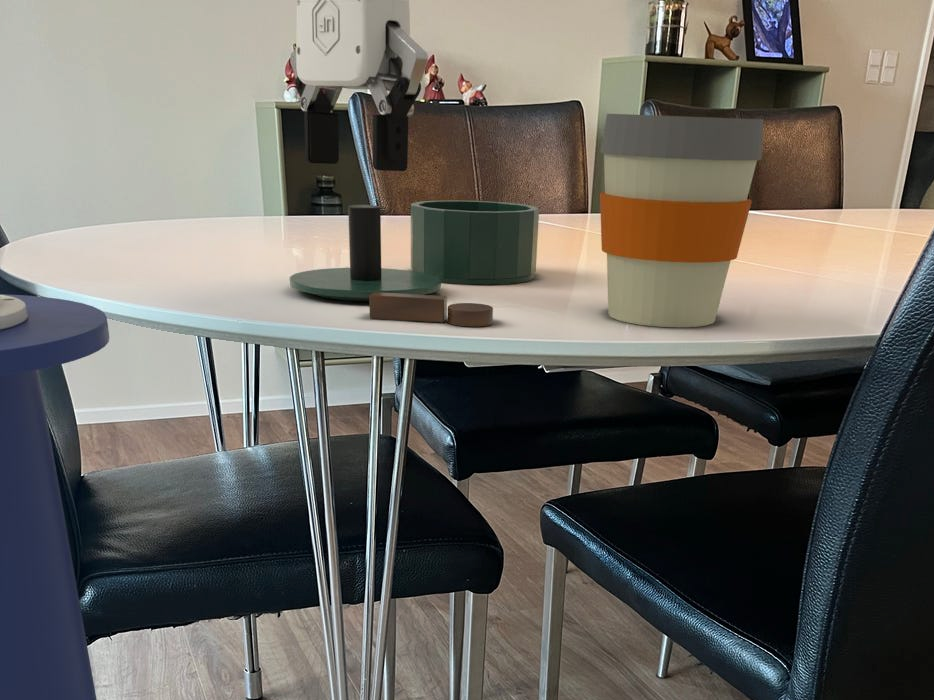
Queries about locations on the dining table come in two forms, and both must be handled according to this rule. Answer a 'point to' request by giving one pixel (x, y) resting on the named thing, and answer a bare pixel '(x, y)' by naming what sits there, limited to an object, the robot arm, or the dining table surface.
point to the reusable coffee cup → (674, 213)
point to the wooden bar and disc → (428, 309)
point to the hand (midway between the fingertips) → (354, 166)
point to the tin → (474, 241)
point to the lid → (363, 266)
